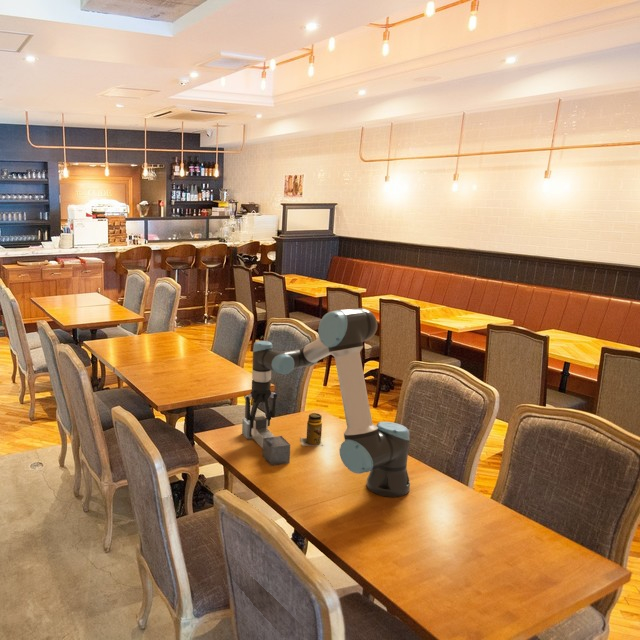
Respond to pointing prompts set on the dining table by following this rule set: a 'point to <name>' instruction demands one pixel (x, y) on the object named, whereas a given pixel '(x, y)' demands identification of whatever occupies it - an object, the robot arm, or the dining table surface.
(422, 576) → the dining table surface
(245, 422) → the socket
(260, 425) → the light gray bar
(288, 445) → the sleeve
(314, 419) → the yellow drink bottle
